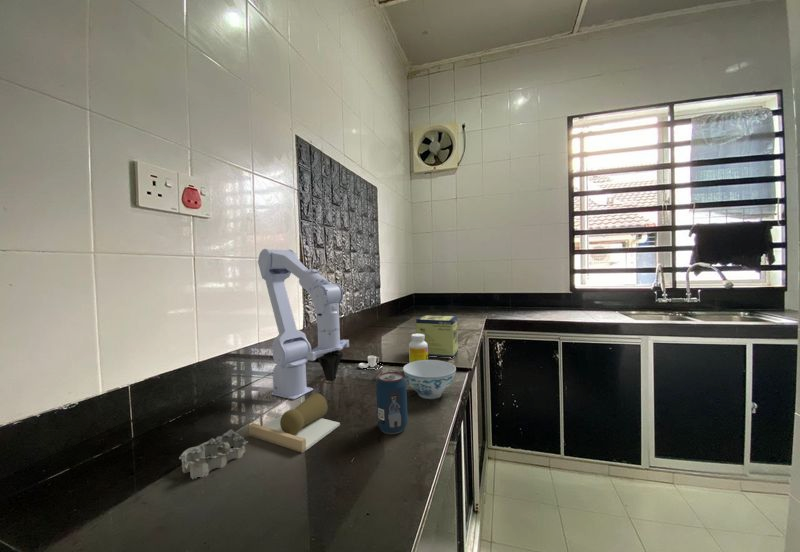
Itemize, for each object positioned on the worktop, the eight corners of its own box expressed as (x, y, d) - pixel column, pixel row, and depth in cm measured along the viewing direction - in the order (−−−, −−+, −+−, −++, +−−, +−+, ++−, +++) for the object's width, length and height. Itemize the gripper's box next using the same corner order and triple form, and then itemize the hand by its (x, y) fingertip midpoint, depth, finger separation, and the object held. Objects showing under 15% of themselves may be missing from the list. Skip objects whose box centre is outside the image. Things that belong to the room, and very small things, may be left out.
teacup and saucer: (356, 370, 114) (356, 359, 113) (362, 364, 121) (362, 353, 121) (380, 371, 112) (379, 360, 112) (384, 364, 120) (384, 353, 120)
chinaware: (431, 411, 79) (430, 381, 79) (393, 394, 90) (392, 368, 90) (467, 393, 89) (466, 367, 89) (429, 380, 100) (428, 356, 100)
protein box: (454, 359, 122) (453, 320, 122) (416, 356, 128) (415, 319, 127) (458, 352, 132) (457, 315, 132) (423, 350, 137) (422, 315, 137)
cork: (329, 417, 77) (299, 439, 66) (309, 417, 79) (277, 439, 68) (325, 392, 77) (295, 411, 67) (305, 393, 79) (273, 411, 69)
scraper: (249, 435, 70) (248, 425, 70) (290, 412, 81) (290, 403, 81) (302, 452, 63) (302, 441, 63) (339, 425, 73) (339, 415, 73)
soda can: (393, 417, 76) (391, 369, 76) (413, 427, 71) (412, 375, 71) (371, 428, 71) (369, 376, 71) (391, 439, 67) (390, 384, 66)
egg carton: (193, 485, 55) (191, 462, 55) (177, 469, 59) (176, 449, 59) (250, 455, 63) (249, 435, 63) (233, 443, 67) (232, 425, 67)
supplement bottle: (429, 374, 106) (428, 336, 106) (409, 374, 106) (408, 337, 106) (427, 367, 113) (426, 332, 113) (409, 368, 113) (408, 333, 113)
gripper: (321, 336, 74) (323, 392, 75) (357, 325, 87) (358, 373, 87) (299, 334, 77) (301, 387, 78) (337, 323, 90) (338, 370, 91)
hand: (330, 379), depth 83 cm, fingers closed
